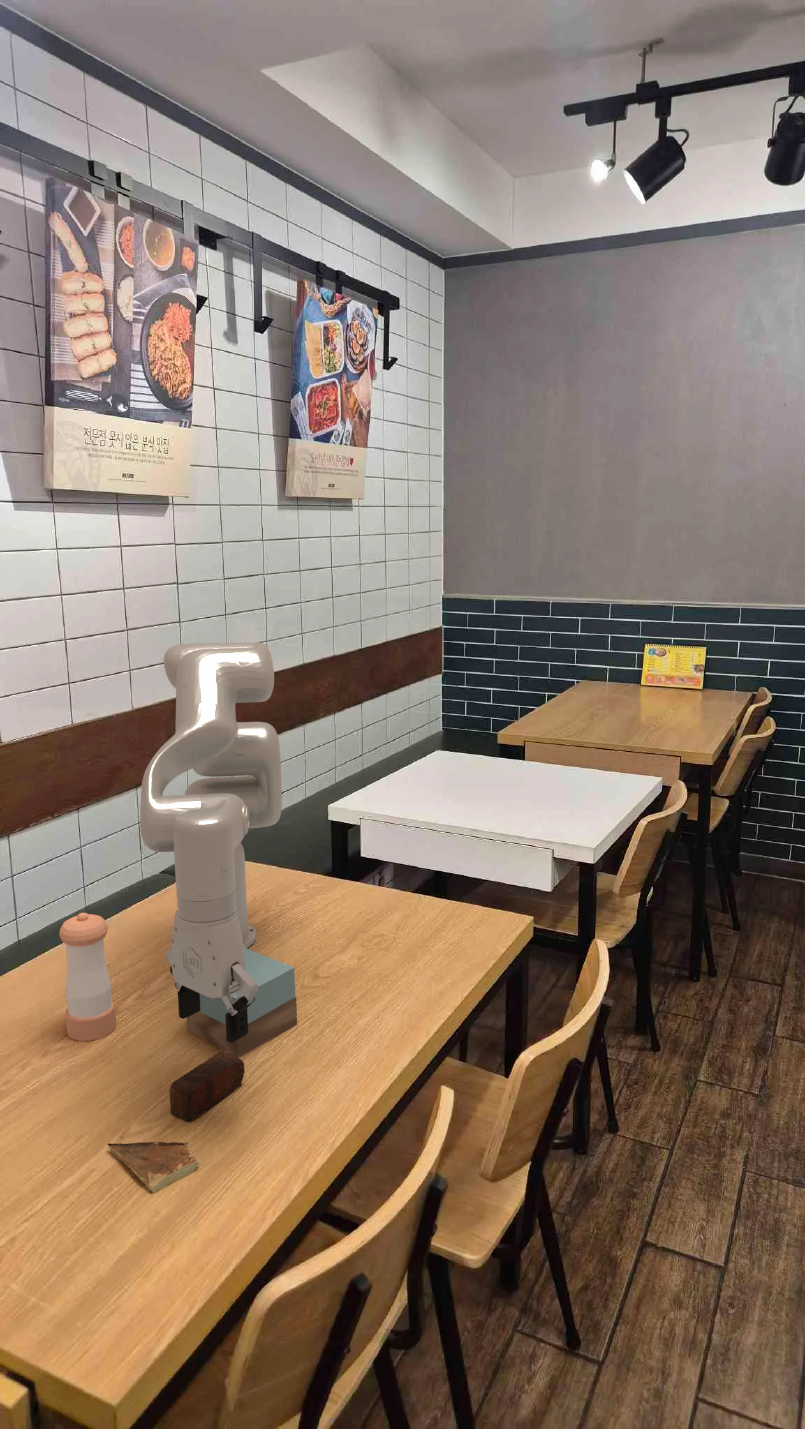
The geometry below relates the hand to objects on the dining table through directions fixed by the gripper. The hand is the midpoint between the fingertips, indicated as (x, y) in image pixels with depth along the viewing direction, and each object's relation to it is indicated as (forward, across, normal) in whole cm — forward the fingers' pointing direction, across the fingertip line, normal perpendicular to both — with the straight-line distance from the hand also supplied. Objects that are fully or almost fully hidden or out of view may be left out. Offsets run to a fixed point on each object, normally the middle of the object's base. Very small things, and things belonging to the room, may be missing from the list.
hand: (213, 1025), depth 123 cm
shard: (+13, +3, -14) cm, 19 cm away
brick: (+12, -2, 0) cm, 12 cm away
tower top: (+7, -12, +15) cm, 21 cm away
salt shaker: (+11, -31, 0) cm, 33 cm away
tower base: (+12, -12, +15) cm, 23 cm away
